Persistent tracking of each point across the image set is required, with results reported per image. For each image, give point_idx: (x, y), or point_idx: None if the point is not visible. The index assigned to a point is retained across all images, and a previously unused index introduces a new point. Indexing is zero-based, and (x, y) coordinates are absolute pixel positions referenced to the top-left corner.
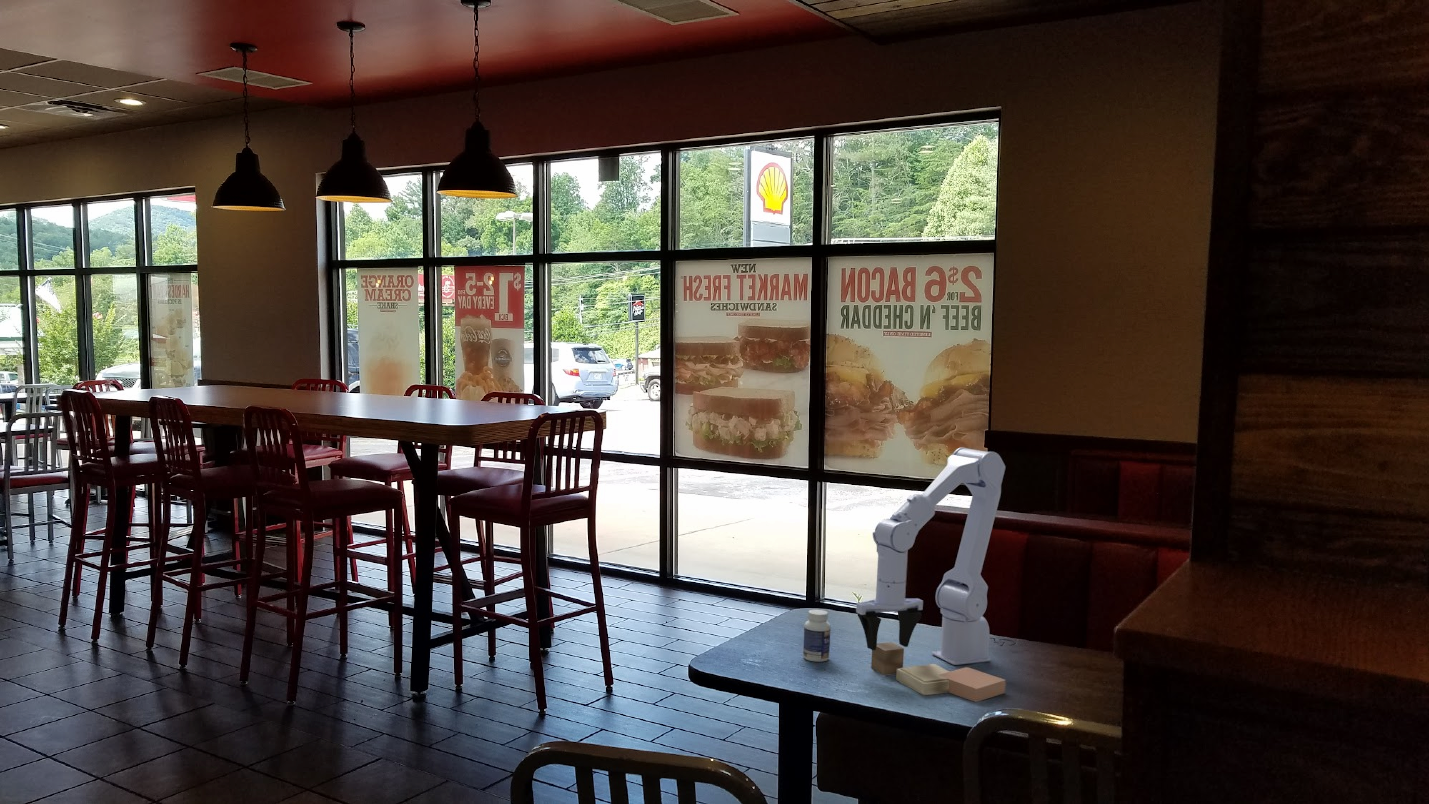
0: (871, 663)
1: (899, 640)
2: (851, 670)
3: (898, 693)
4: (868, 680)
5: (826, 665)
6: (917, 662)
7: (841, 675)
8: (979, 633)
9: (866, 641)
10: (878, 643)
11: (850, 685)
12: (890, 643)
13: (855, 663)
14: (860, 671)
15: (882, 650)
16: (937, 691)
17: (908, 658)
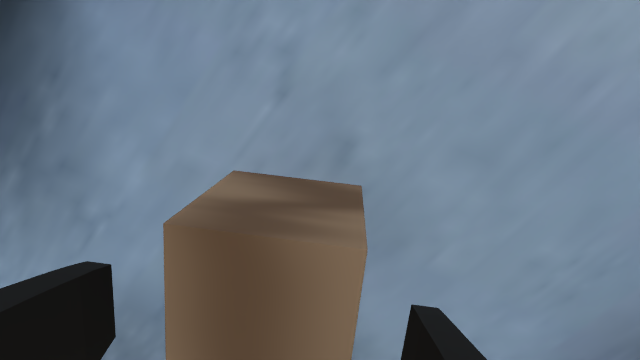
0: (224, 178)
1: (418, 321)
2: (106, 157)
3: None
4: (116, 306)
5: (4, 21)
6: (568, 204)
7: (20, 198)
8: None
9: (39, 277)
10: (226, 234)
11: None
12: (334, 275)
13: (192, 61)
14: (146, 190)
15: (168, 356)
16: None
17: (584, 119)
